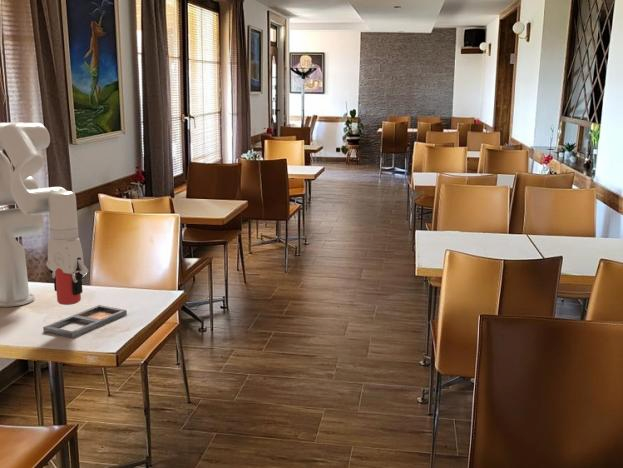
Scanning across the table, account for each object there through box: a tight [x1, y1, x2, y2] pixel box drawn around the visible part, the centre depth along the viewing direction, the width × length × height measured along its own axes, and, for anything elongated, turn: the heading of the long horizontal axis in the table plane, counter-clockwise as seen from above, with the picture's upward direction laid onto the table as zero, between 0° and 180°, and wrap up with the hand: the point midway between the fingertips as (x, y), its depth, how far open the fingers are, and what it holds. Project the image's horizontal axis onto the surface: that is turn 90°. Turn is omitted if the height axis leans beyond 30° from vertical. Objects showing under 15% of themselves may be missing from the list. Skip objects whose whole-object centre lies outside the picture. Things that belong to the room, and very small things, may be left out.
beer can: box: [55, 268, 82, 306], centre depth 187 cm, size 7×7×12 cm
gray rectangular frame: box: [42, 304, 128, 339], centre depth 194 cm, size 12×23×2 cm, turn 154°
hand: (68, 291), depth 188 cm, fingers closed on beer can, 6 cm apart
